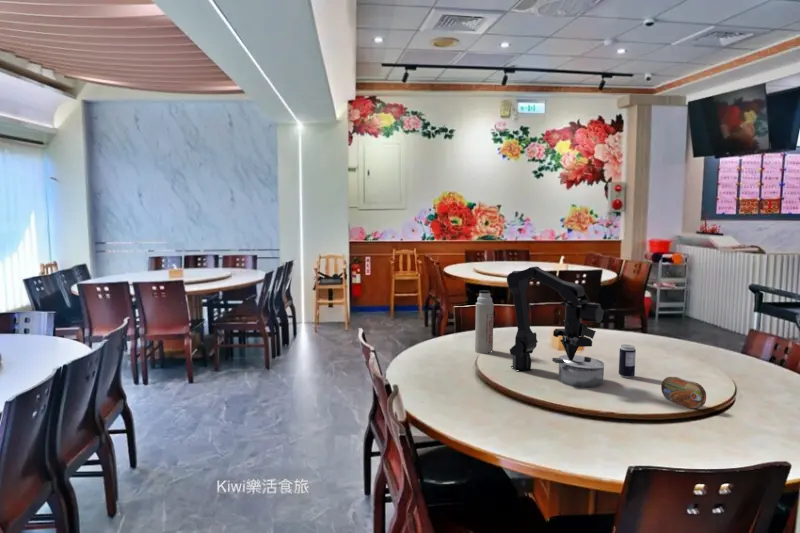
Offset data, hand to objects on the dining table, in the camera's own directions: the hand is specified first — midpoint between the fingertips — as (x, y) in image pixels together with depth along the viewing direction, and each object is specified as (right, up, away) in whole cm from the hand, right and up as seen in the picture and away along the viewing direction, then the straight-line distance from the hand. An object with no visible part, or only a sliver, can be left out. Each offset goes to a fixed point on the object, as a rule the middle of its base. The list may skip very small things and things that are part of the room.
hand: (570, 360), depth 202 cm
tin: (+30, -11, -23) cm, 39 cm away
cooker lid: (+3, -1, +1) cm, 3 cm away
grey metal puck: (+4, -8, +2) cm, 9 cm away
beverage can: (+24, -8, +7) cm, 26 cm away
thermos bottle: (-25, -4, +46) cm, 52 cm away
